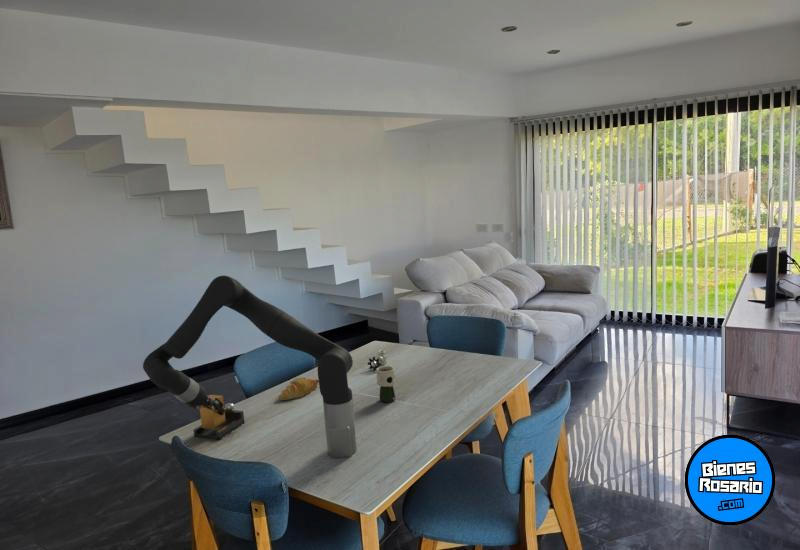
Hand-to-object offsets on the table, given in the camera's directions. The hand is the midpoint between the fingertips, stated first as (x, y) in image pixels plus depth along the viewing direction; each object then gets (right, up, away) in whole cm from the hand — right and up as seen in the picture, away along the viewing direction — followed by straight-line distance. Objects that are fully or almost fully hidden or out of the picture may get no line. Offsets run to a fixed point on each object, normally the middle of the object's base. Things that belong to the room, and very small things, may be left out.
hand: (216, 411), depth 195 cm
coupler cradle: (+1, -7, +2) cm, 7 cm away
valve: (+56, +5, +63) cm, 85 cm away
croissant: (+23, -1, +34) cm, 41 cm away
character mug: (+61, -1, +20) cm, 64 cm away
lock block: (0, -5, -1) cm, 5 cm away
